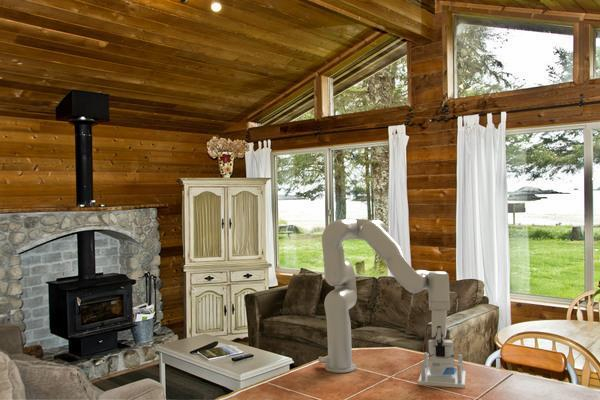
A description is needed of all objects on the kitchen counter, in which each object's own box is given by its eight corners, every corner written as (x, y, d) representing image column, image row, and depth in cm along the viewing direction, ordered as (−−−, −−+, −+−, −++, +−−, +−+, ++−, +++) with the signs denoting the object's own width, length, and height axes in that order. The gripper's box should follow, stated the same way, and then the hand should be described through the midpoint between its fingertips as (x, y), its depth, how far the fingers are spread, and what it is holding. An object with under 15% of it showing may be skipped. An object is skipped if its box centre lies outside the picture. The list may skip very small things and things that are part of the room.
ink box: (452, 370, 197) (451, 339, 197) (454, 374, 192) (453, 342, 192) (429, 370, 198) (427, 339, 198) (430, 374, 193) (429, 342, 193)
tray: (418, 384, 189) (417, 363, 190) (422, 371, 205) (421, 351, 205) (464, 388, 184) (463, 366, 185) (465, 373, 200) (464, 353, 200)
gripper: (430, 300, 204) (432, 347, 204) (426, 309, 188) (428, 360, 188) (450, 301, 202) (452, 348, 202) (448, 309, 186) (450, 361, 185)
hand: (441, 353), depth 195 cm, fingers closed on ink box, 5 cm apart
